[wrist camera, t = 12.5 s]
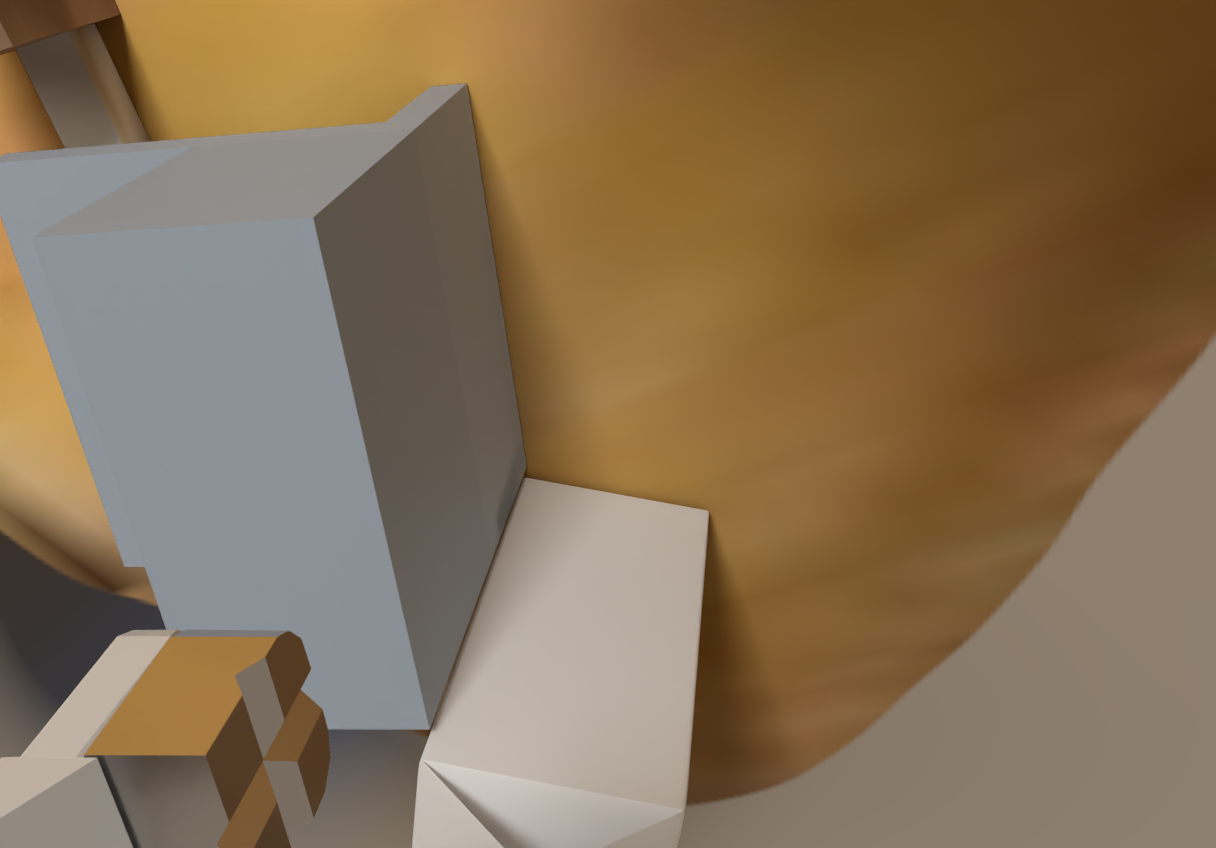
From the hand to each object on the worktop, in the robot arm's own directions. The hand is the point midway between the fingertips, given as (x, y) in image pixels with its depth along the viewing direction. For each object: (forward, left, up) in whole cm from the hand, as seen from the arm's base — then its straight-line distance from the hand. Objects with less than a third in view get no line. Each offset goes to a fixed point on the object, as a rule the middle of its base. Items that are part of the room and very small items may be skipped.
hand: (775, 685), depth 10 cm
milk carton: (+19, -7, -29) cm, 35 cm away
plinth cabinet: (+7, -16, -29) cm, 34 cm away
